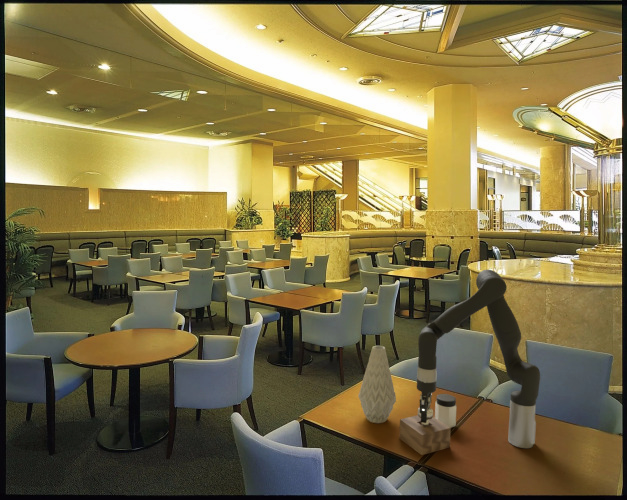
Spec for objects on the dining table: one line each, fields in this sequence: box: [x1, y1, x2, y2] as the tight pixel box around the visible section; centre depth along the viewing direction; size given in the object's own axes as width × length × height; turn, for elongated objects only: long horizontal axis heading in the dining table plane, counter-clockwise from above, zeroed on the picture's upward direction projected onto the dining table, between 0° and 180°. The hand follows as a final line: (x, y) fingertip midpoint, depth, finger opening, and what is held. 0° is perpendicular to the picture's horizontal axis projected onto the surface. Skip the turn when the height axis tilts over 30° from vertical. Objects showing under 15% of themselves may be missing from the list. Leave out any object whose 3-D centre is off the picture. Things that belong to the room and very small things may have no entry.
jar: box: [434, 393, 457, 429], centre depth 194 cm, size 9×8×12 cm
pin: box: [417, 406, 434, 427], centre depth 177 cm, size 6×6×10 cm
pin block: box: [399, 414, 452, 456], centre depth 178 cm, size 14×14×8 cm
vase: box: [358, 345, 397, 424], centre depth 197 cm, size 17×17×33 cm
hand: (425, 418), depth 177 cm, fingers closed on pin, 6 cm apart
